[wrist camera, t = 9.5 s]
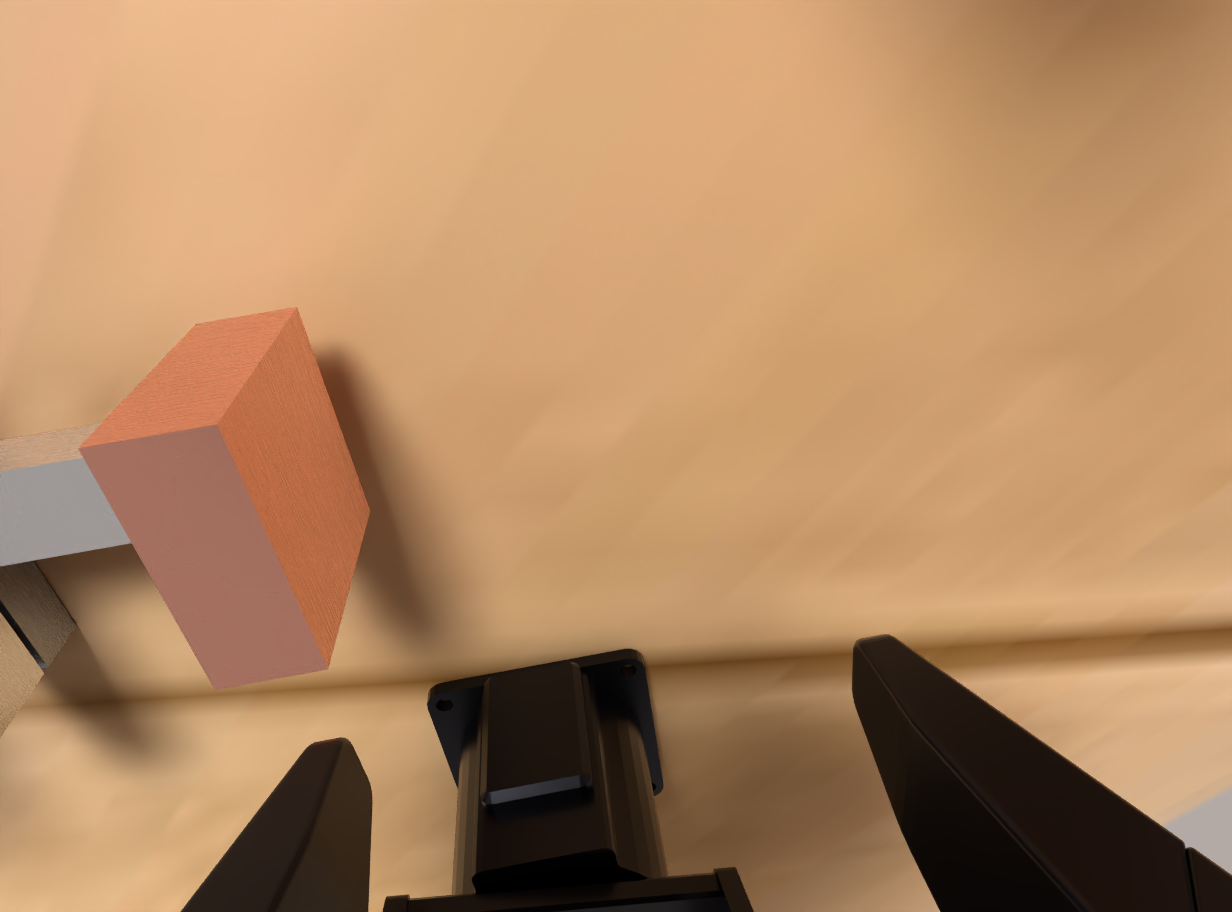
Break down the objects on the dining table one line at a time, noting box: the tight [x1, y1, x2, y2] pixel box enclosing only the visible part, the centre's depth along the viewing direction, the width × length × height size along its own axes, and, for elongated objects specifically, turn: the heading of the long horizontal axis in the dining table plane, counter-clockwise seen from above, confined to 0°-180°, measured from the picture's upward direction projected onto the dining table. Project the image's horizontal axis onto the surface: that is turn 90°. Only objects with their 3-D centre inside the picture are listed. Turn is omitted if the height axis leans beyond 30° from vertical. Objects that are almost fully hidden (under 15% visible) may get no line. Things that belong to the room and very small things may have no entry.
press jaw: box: [0, 307, 370, 737], centre depth 15 cm, size 11×11×5 cm
